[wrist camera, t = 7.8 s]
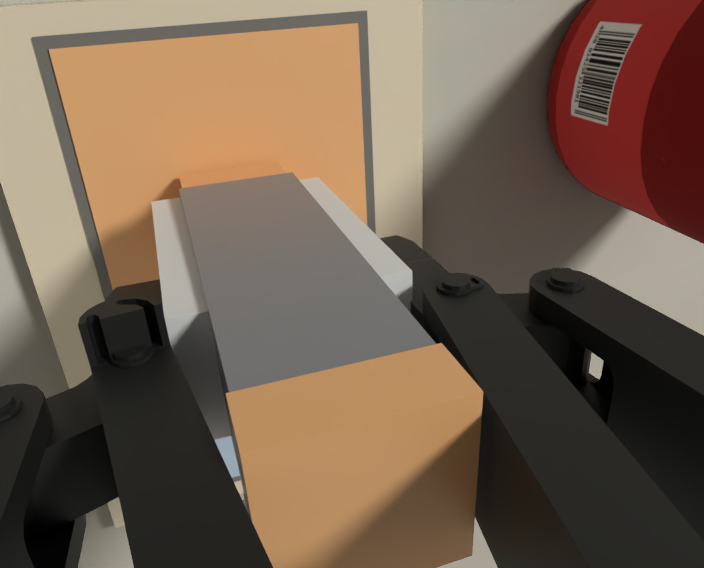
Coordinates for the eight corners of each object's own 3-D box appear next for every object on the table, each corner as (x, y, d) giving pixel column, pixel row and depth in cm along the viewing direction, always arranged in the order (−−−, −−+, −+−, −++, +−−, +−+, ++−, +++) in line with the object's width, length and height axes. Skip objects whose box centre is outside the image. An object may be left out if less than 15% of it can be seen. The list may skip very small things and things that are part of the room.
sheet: (-50, 9, 14) (-59, 10, 14) (413, -22, 18) (424, -22, 17) (115, 516, 22) (115, 531, 22) (416, 433, 25) (423, 444, 25)
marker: (172, 171, 17) (240, 454, 7) (281, 156, 18) (483, 391, 8) (191, 270, 18) (269, 624, 8) (292, 252, 19) (471, 554, 9)
